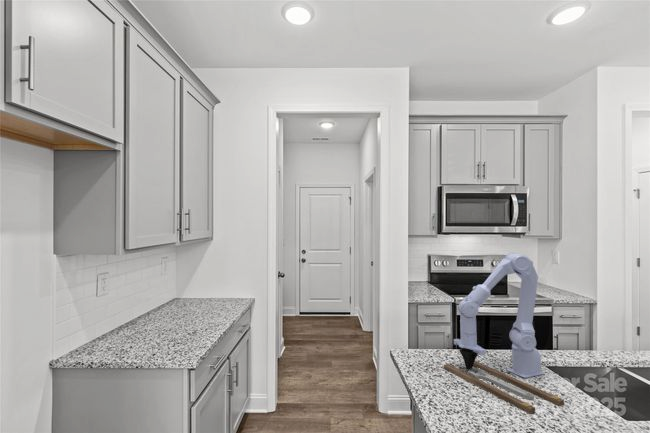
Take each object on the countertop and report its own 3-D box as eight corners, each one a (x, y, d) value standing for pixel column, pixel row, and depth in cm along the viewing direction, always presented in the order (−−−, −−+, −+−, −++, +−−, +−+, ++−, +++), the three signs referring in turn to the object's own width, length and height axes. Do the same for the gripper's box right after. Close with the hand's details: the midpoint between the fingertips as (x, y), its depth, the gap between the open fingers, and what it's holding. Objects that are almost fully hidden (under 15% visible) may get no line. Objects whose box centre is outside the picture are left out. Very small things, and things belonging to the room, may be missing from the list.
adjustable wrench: (536, 400, 117) (536, 394, 117) (521, 404, 114) (521, 398, 114) (477, 371, 140) (477, 366, 140) (463, 374, 138) (463, 369, 138)
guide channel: (472, 363, 148) (472, 359, 148) (564, 405, 113) (564, 399, 113) (443, 368, 143) (443, 364, 143) (530, 414, 108) (529, 408, 108)
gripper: (447, 328, 146) (447, 363, 145) (474, 338, 132) (475, 377, 132) (461, 326, 148) (462, 361, 148) (489, 336, 135) (490, 374, 134)
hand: (469, 368), depth 140 cm, fingers closed
